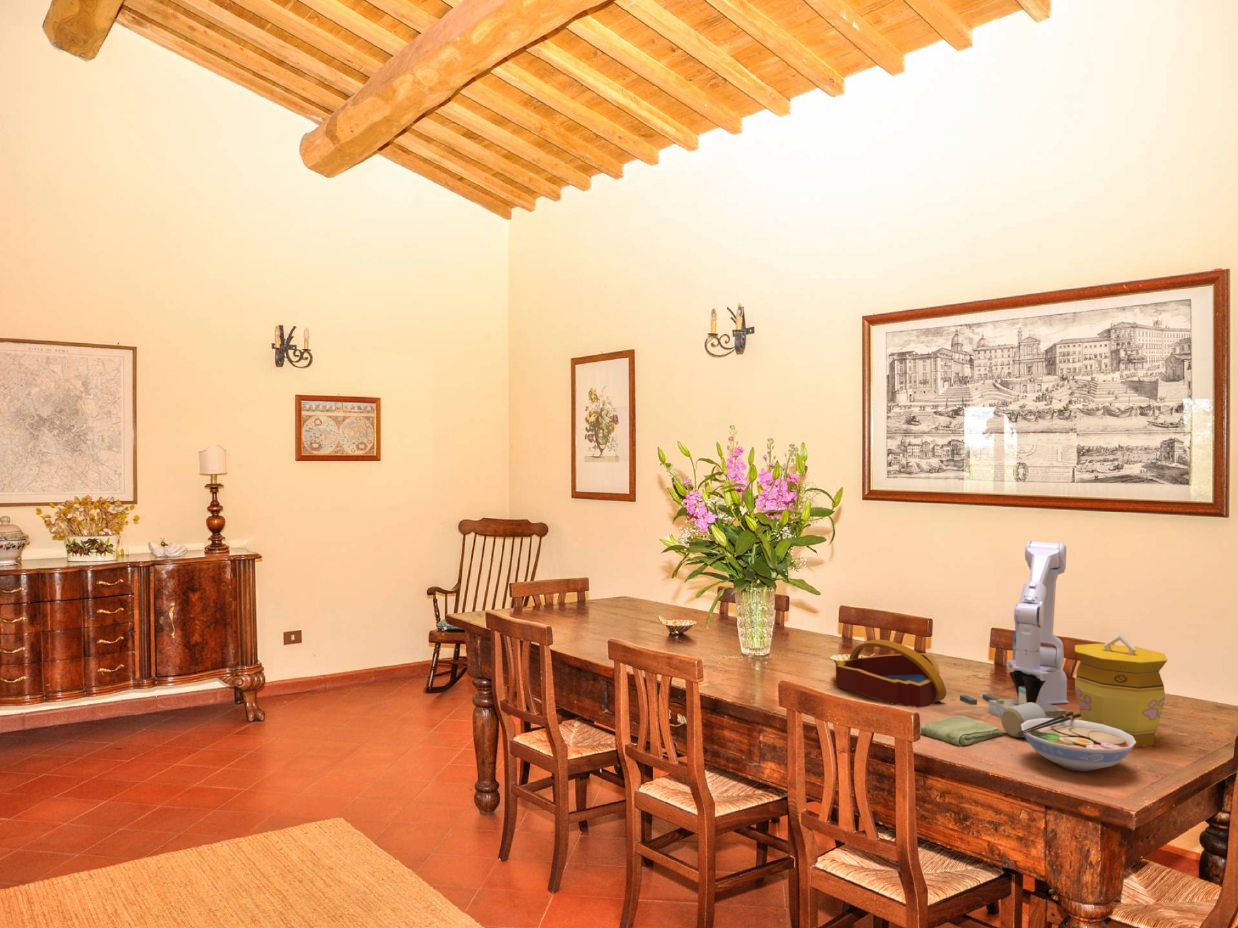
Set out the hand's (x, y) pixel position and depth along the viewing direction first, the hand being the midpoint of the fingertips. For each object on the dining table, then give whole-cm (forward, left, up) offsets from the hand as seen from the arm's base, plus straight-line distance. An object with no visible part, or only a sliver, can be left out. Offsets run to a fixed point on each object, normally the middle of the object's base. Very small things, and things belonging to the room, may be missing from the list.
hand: (1026, 701), depth 241 cm
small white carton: (-1, 0, -3) cm, 3 cm away
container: (-12, +18, -4) cm, 22 cm away
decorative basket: (+22, -30, -5) cm, 38 cm away
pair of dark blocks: (+3, -16, -4) cm, 17 cm away
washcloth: (+25, +10, -5) cm, 28 cm away
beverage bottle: (-24, -33, -4) cm, 41 cm away
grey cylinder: (+10, +15, -4) cm, 18 cm away
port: (0, 0, -4) cm, 4 cm away
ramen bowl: (+13, +35, -4) cm, 38 cm away
